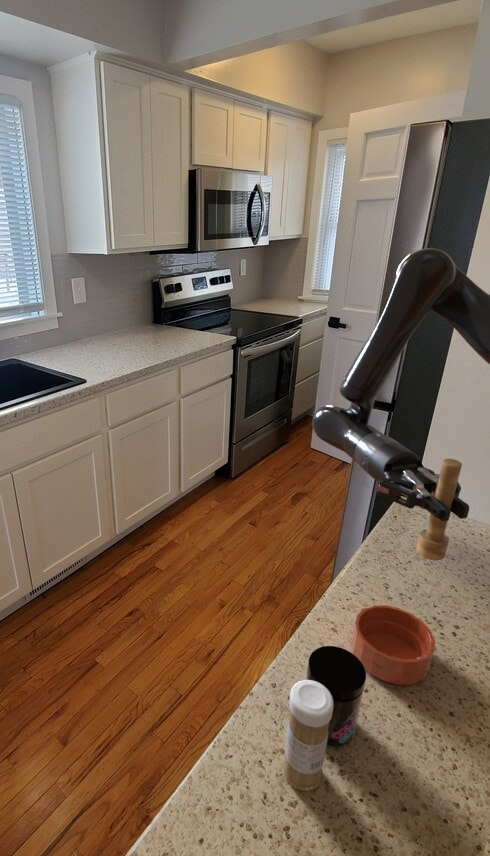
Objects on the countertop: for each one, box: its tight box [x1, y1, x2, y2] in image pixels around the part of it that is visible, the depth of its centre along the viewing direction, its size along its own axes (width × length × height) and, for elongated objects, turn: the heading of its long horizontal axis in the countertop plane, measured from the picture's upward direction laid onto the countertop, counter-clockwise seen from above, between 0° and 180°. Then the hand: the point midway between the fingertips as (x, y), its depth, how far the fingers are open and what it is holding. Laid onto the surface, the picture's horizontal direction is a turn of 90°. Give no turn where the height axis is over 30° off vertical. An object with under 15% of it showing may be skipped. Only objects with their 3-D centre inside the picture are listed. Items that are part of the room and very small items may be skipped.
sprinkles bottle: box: [282, 679, 333, 792], centre depth 55 cm, size 5×5×14 cm
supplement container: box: [306, 645, 367, 748], centre depth 61 cm, size 7×7×10 cm
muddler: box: [415, 458, 463, 561], centre depth 73 cm, size 4×4×16 cm
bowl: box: [350, 604, 436, 686], centre depth 72 cm, size 11×11×5 cm
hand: (456, 514), depth 70 cm, fingers closed on muddler, 2 cm apart
